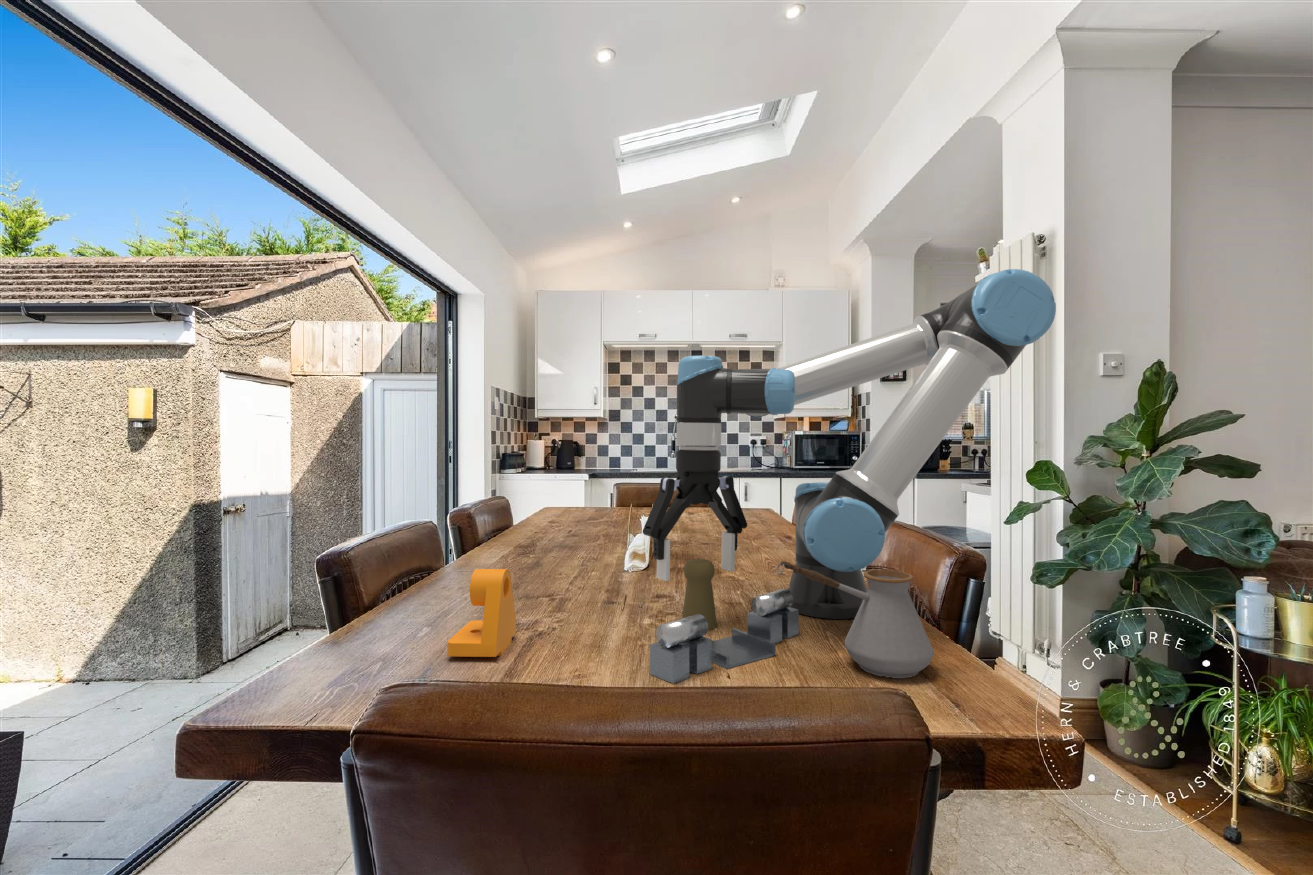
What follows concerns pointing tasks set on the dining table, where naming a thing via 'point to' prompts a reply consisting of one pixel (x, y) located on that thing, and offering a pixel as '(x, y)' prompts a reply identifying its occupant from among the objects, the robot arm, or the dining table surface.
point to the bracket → (487, 617)
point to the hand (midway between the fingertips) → (696, 574)
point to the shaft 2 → (773, 616)
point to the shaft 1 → (681, 649)
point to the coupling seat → (740, 649)
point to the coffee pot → (882, 624)
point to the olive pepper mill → (700, 591)
